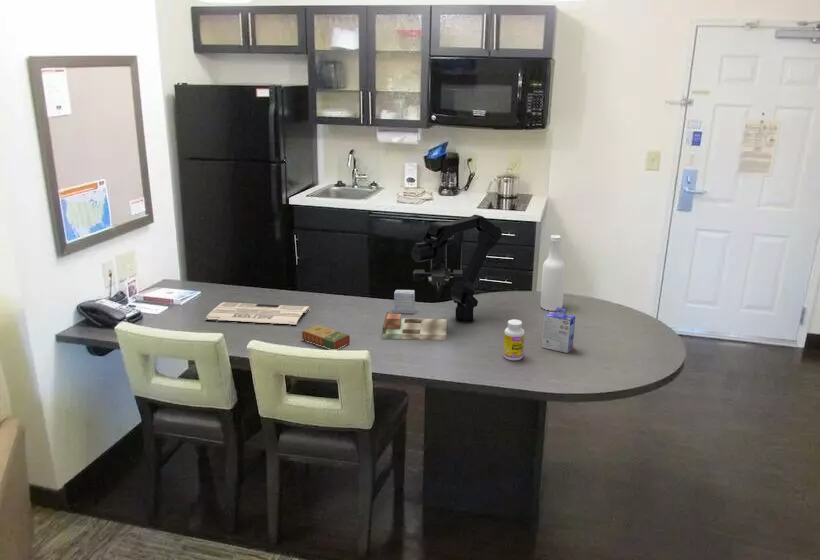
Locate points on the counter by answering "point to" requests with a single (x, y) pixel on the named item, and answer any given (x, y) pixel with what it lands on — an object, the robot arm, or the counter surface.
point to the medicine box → (404, 301)
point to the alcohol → (553, 277)
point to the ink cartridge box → (558, 331)
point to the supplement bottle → (513, 340)
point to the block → (393, 321)
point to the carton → (325, 337)
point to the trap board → (417, 329)
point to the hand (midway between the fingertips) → (438, 297)
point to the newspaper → (258, 313)
